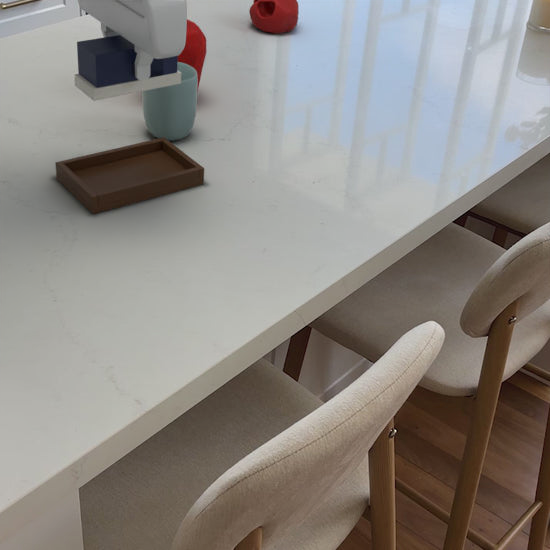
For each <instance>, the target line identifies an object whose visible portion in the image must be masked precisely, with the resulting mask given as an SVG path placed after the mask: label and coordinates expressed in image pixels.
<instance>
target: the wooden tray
mask: <svg viewBox="0 0 550 550" xmlns="http://www.w3.org/2000/svg"><path fill="white" fill-rule="evenodd" d="M55 175H56V176H55V177H56V180H57V181H58V182H59V183H60V184H62V186H63V187H64V188H65V189H67V190H68V192H70V194H71V195H73V196H74V197H75V198H76V199H77V200H78V201H79V202H80V203H81V204H82V205H83V206H84V207H85V208H86V209H87V210H88V211H89V212H90V213H91V214H92V215H95V214H99V213H102V212H107V211H110V210H114V209H117V208H121V207H125V206H129V205H133V204H136V203H140V202H144V201H147V200H150V199H154V198H159V197H162V196H165V195H166V196H167V195H169V194H170V195H171V194H174V193H177V192H180V191H185V190H187V189H191V188H194V187H195V188H196V187H199V186H203V185H204V183H205V167H204V166H203V165H201V164H200V163H198V162H197V161H196V160H194V159H193V158H192V157H191V156H189V155H188V154H186V153H185V152H184V151H183V150H181V149H180V148H179V147H177V146H176V145H174V143H172V142H171V141H168V140H167V139H166V138H164V137H163V138H155V139H151V140H146V141H142V142H137V143H133V144H129V145H123V146H120V147H116V148H111V149H106V150H103V151H99V152H94V153H90V154H86V155H81V156H77V157H72V158H68V159H64V160H60V161H55Z"/></svg>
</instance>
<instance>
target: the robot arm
mask: <svg viewBox="0 0 550 550" xmlns="http://www.w3.org/2000/svg"><path fill="white" fill-rule="evenodd" d="M77 3H78V6H79V8H80V10H82V11H83V12H85V13H86V14H88V15H89V16H91V17H92V18H94V19H95V20H97V21H98V22H100V30H101V33H102V36H103V38H104V37H110V36H117V35H121V36H122V37H124V38H125V39H127V40H128V41H130V42H131V43H133V44H134V45H135V52H136V53H137V56H136V60H135V62H131V67H132V75H133V76H135V77H136V78H137V79H139V80H143V79H148V78H149V77H150V64H151V63H152V61H153V59H154V58H155V59H163V58H169V57H174V56H178V55H180V54H181V52H182V51H183V49H184V47H185V42H186V28H187V19H188V2H187V0H77Z"/></svg>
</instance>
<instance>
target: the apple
mask: <svg viewBox="0 0 550 550" xmlns="http://www.w3.org/2000/svg"><path fill="white" fill-rule="evenodd" d="M206 56H207V37H206V35H205V33H204V32H203V31H202V29H201V28H200V26H199V25H198V24H197V23H195V22H194V21H193V20H190V19H188V18H187V28H186V42H185V47H184V49H183V51H182V52H181V54H180V55H178V62H181V63H185V64H187V65H190V66H191V67H193V68H194V69H195V70H196V71H197V76H198V87H197V93H198V91H199V87H200V83H201V77H202V74H203V73H202V72H203V67H204V65H205V64H204V63H205V60H206Z"/></svg>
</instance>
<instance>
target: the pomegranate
mask: <svg viewBox="0 0 550 550" xmlns="http://www.w3.org/2000/svg"><path fill="white" fill-rule="evenodd" d="M299 13H300V12H299V2H298V0H253V3H252V5H251V6H250V7H249V13H248V14H249V19H250V21H251V23H252V25H253V26H255V27H256V28H257V29H259V30H260V31H262V32H265V33H272V34H284V33H287V32H291V31H292V30H294V29H295V28H296V27H297V25H298V21H299Z"/></svg>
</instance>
